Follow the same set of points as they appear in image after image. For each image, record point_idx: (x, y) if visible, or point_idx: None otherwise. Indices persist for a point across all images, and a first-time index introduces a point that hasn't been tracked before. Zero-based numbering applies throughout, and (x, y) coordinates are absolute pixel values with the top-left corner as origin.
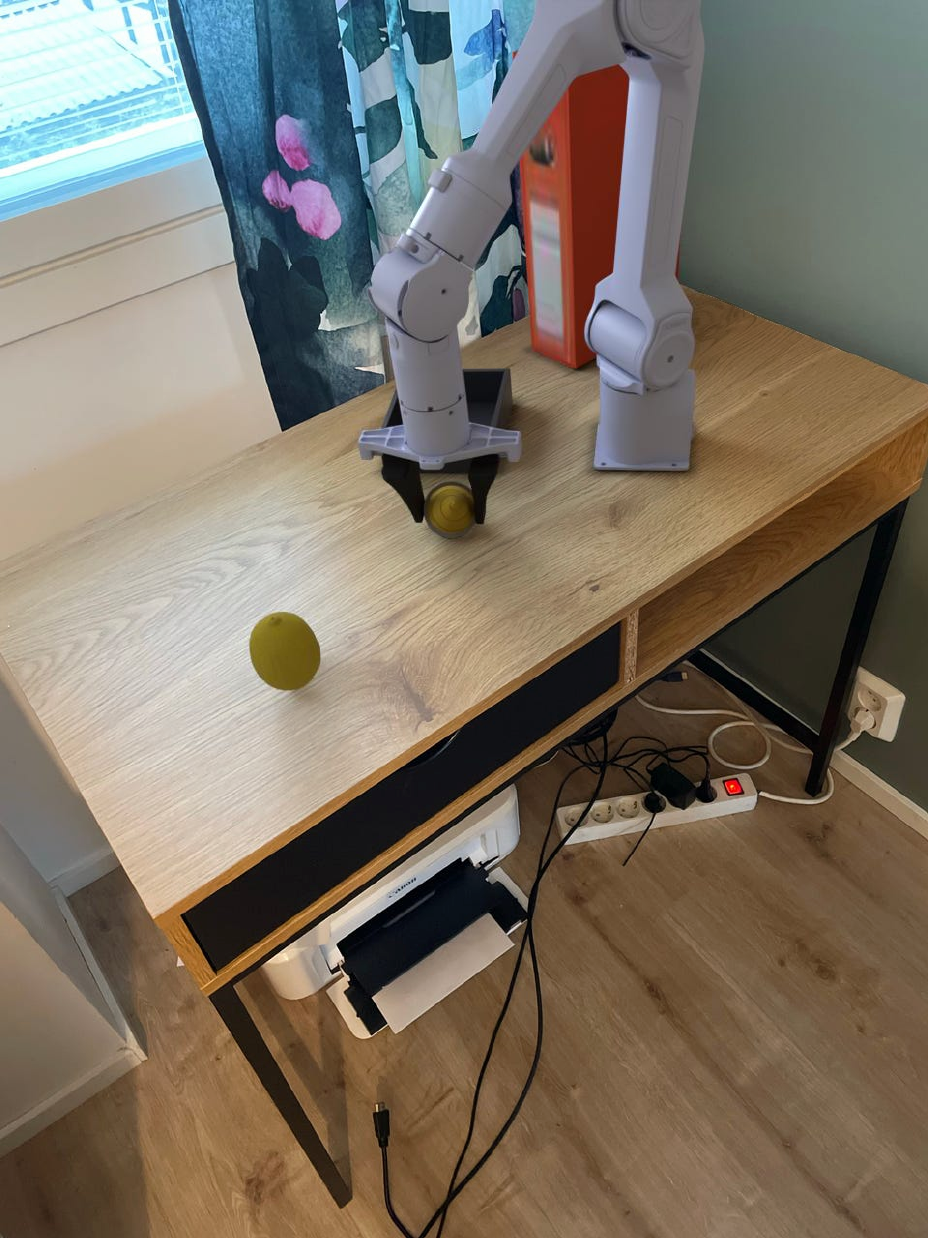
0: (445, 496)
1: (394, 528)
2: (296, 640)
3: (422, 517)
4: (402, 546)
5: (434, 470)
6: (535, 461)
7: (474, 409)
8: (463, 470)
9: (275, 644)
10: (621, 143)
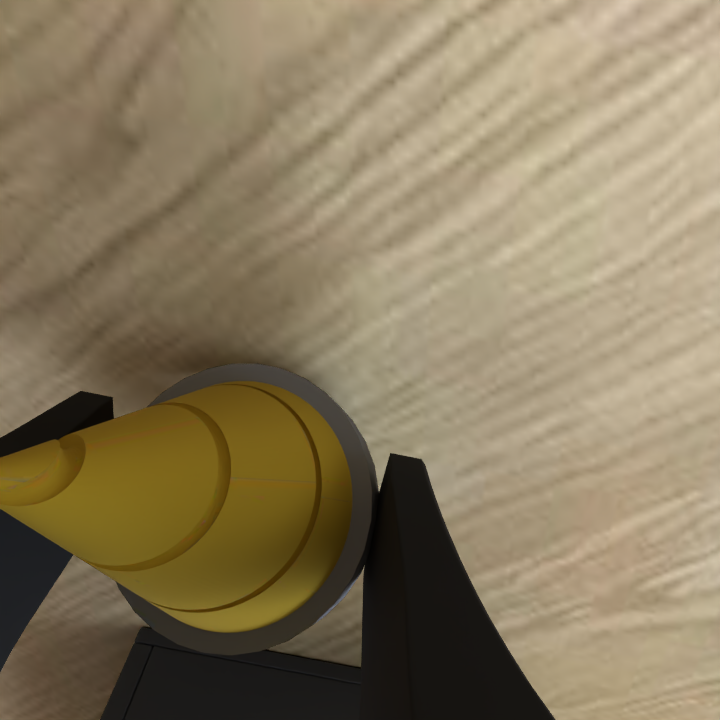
0: (171, 569)
1: (524, 470)
2: None
3: (384, 481)
4: (501, 364)
5: (351, 677)
6: (29, 643)
7: None
8: (250, 659)
9: None
10: None
